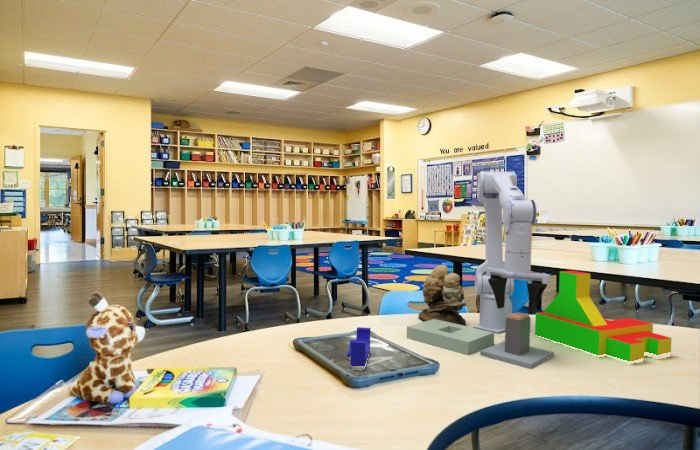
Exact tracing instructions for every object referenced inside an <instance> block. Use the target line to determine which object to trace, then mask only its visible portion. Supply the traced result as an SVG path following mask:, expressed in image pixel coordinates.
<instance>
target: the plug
mask: <svg viewBox="0 0 700 450" xmlns="http://www.w3.org/2000/svg"><path fill="white" fill-rule="evenodd" d="M504 332H505V334H504V339H505V340H504V341H505V352H506V353H510V354H514V355H518V356H520V355H522V354H524V353H526V352H529V346H530V344H531V343H530V339H531V338H530V337H531V316H530V314H529V313H525V312H519V311H518V312H512V314H509V315H507V317H506V328H505V331H504Z"/></svg>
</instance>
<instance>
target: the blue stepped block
mask: <svg viewBox="0 0 700 450" xmlns="http://www.w3.org/2000/svg"><path fill="white" fill-rule="evenodd" d="M369 350H370V351H371V327H360V326H359V327H358V326H357V327H356V339H350V341H349V344H348V349H347V353H346V354H347V355H346V357H349V356H351V360H350V365H352V366H365V363H366V361H367V358H368V354H369ZM369 355H370V354H369ZM368 359H369V358H368ZM367 362H368V361H367Z"/></svg>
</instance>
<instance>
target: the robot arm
mask: <svg viewBox="0 0 700 450" xmlns="http://www.w3.org/2000/svg"><path fill="white" fill-rule="evenodd" d="M476 181H477V182H476V188H477V189H476V191H477V194H476V195H477V202H479V203H481V204H482V205H483V208H484V226H485V227H484V234H485V239H484V241H485V252H484V253H485V261H484V262H483V263H481V264H480V265H479V266H477V267H476V270H475V275H474V290H475V293H476V294H477V295H479V323H477V324H474V325H472V326H473V327H472V328H476V329H481V330H485V331H489V332H494V333H496V334H500V333H501V332H505V328H506V317H507V315H509V314H512V313H513V303H512V300H511V299H510V296H512V295H513V293H514V289H515V281H514V280H519V281H525V282H527V283H526V285H527V286H526V287H527V292H528V314H529V315H530V316H531V315H534V314H535V315H536V313H537V308H538V305H539V302H540V299H541V297H542V296H543V294H544V292H545V290H546V288H547V286H548V284H551V274H548V273H541V272H537V271H531V269H532V268H531V267H532V266H531V265H532V244H533V243H532V241H533V240H532V239H533V225H535V223H536V221H537V215H538V212H537V211H538V210H537V209H538V208H537V204H536V201H535V199H527V197H525V195H524V193H523V192H522V190H521V189H520V188H518V187H517V185H518V178H517V174H516V172H515V171H513V170H511V171H484V170H481V171H480V172H479V173H478V174H477V180H476ZM503 232H505V240H504V241H505V242H504V253H503ZM503 254H504V256H503ZM503 257H504V259H503ZM528 282H529V283H528Z"/></svg>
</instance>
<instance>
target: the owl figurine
mask: <svg viewBox="0 0 700 450" xmlns="http://www.w3.org/2000/svg"><path fill="white" fill-rule="evenodd" d="M448 268H449V267H448V266H447V265H446V264H440V265H436V266H435V267H434V268H433V270H432V271H431V273H430V274H429V275H427V276H426V279H425V282H423V285H422V286H423V287H422V288H423V289H422V295H423V296H422V297H423V301H424V303H425V304H427V307H428V308H426V309H422V310H421V312H419V313H418V316H419V317H418V319H419V320H420V321H422V322H425V321H429V320H432V319H437V320H441V321H445V322H450V323H454V324H459V325H463V326H467V323H466V319H465V318H463V316H462V315H461V314H460V312H459V311H461V310H462V309H463V308H464V307H466V306H467V302H465V301H464V299H465V294H464V290H463V287H462V285H460V281H461V276H460V275H459V274H457V273H455V272H450V273H449V269H448Z"/></svg>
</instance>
